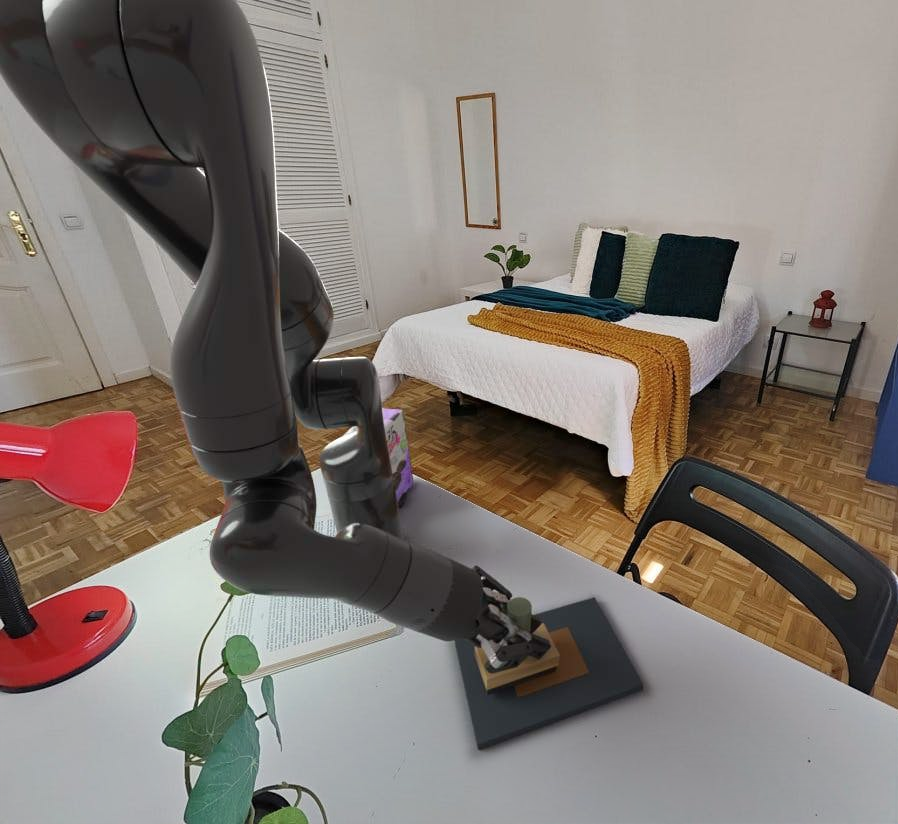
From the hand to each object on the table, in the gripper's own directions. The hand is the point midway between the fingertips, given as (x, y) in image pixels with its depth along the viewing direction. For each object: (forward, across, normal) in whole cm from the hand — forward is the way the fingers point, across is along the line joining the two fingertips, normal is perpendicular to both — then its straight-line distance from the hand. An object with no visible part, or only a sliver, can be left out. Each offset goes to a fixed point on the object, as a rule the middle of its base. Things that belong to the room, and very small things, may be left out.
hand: (540, 637), depth 59 cm
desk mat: (+4, 0, +3) cm, 5 cm away
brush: (0, 0, +5) cm, 5 cm away
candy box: (-8, +41, +15) cm, 44 cm away
